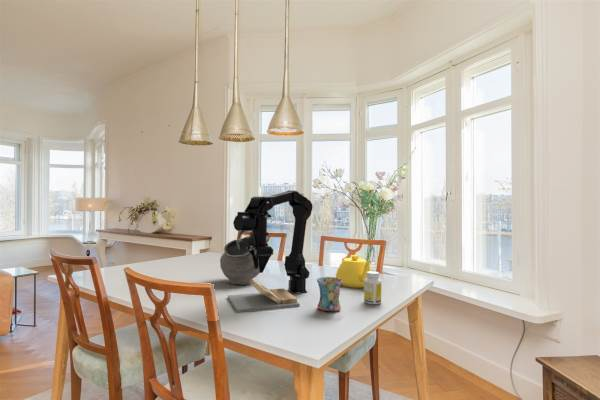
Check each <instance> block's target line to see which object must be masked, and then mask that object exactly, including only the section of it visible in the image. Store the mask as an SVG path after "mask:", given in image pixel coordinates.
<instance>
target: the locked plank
mask: <svg viewBox="0 0 600 400" xmlns="http://www.w3.org/2000/svg"><path fill="white" fill-rule="evenodd" d="M269 290H271V291H272V292H273V293H274V294H275V295H276V296H278V297H279V298H280V299H281V303H282V304H289V303H297V302H298V298H297V297H296V296H294V295H293V294H292V293H291V292H290V291H287V290H286V289H285V288H271V289H269Z"/></svg>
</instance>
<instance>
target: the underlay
mask: <svg viewBox="0 0 600 400" xmlns="http://www.w3.org/2000/svg"><path fill="white" fill-rule="evenodd" d="M227 299H228V301H229V302H230V304H231V305H232V307H233V308H234V310H235V311H236V313H245V312H257V311H267V310H278V309H288V308H298V307H300V303H299V302H298V301H297V303H289V304H282V303H281V302H280V304H279V303H277V302H276V301H274V300H272V299H270V298H269V297H267V296H265V295H263V294H262V293H260V292H255V293H254V292H253V293H242V294H241V293H240V294H228V295H227Z"/></svg>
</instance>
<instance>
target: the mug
mask: <svg viewBox="0 0 600 400" xmlns="http://www.w3.org/2000/svg"><path fill="white" fill-rule="evenodd" d="M316 281H317V284H318V288H319V301H318V304H317V308H318V309H319V310H321V311H323V312H336V311H339V310H341V309H342V306H341V303H340V295H341V293H340V291H341V290H340V289H341V286H342V285H341V284H342V282H343V280H342V279H340V278H336V276H334V277H332V276H322V277H317V279H316Z"/></svg>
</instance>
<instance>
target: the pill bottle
mask: <svg viewBox="0 0 600 400" xmlns="http://www.w3.org/2000/svg"><path fill="white" fill-rule="evenodd" d="M379 276H380V272H378V271H373V270H372V271H368V272H367V278H366V279H365V280H364V287H363V291H364V292H363V296H364V297H363V300H364V301H363V302H365V303H366V304H370V305H379V304H382V280H381V279H380V278H379Z"/></svg>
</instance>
